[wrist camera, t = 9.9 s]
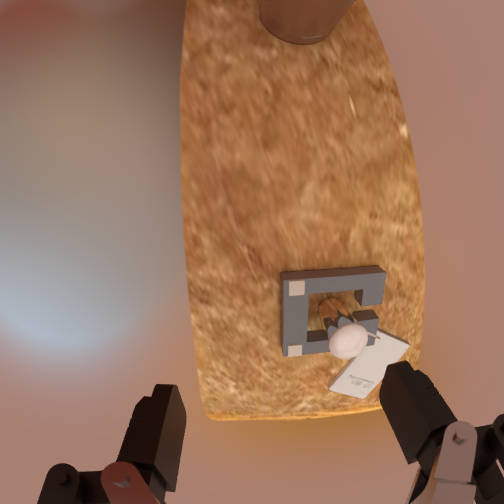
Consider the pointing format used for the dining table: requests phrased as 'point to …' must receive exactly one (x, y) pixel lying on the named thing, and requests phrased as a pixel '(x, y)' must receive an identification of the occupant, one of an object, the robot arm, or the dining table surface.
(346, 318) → the milkshake
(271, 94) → the dining table surface
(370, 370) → the external hard drive
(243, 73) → the dining table surface
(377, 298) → the frame
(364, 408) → the dining table surface
